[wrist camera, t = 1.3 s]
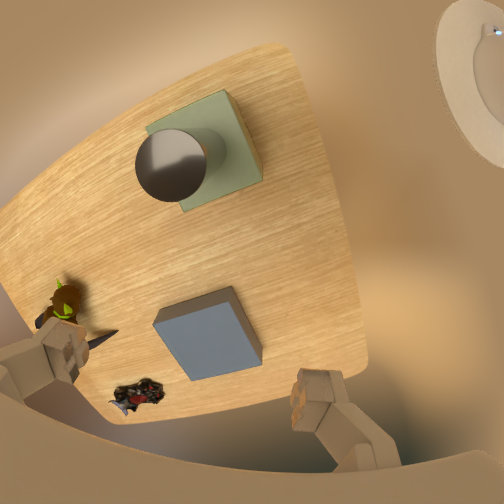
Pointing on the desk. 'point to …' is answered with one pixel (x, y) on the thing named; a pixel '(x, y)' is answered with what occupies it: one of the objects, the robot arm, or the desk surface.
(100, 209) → the desk surface
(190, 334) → the low gray rectangular block
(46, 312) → the goblin
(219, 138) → the glossy brown cylinder
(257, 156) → the sage green stool
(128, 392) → the toy car
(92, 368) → the desk surface
